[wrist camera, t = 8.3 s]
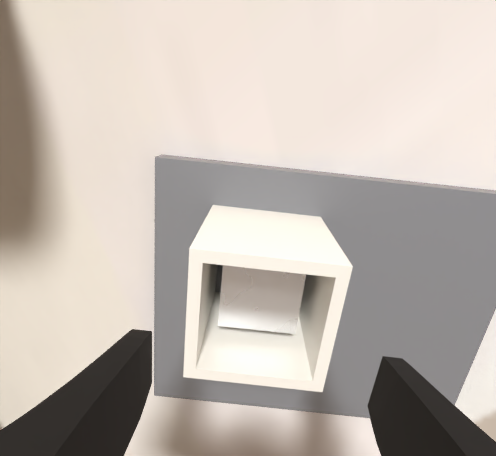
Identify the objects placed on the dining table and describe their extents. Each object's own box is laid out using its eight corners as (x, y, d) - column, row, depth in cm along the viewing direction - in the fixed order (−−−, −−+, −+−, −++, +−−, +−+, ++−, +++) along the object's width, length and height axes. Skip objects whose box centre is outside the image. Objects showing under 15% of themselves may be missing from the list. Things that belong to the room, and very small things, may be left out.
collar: (320, 216, 17) (352, 266, 11) (302, 309, 19) (322, 392, 13) (212, 204, 17) (189, 248, 11) (206, 298, 18) (183, 377, 13)
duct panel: (523, 193, 17) (542, 198, 16) (436, 410, 22) (445, 425, 21) (162, 154, 17) (155, 157, 16) (159, 381, 22) (154, 395, 21)
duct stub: (294, 224, 18) (308, 263, 13) (285, 279, 19) (295, 333, 14) (233, 218, 18) (223, 254, 13) (228, 273, 19) (217, 325, 14)
